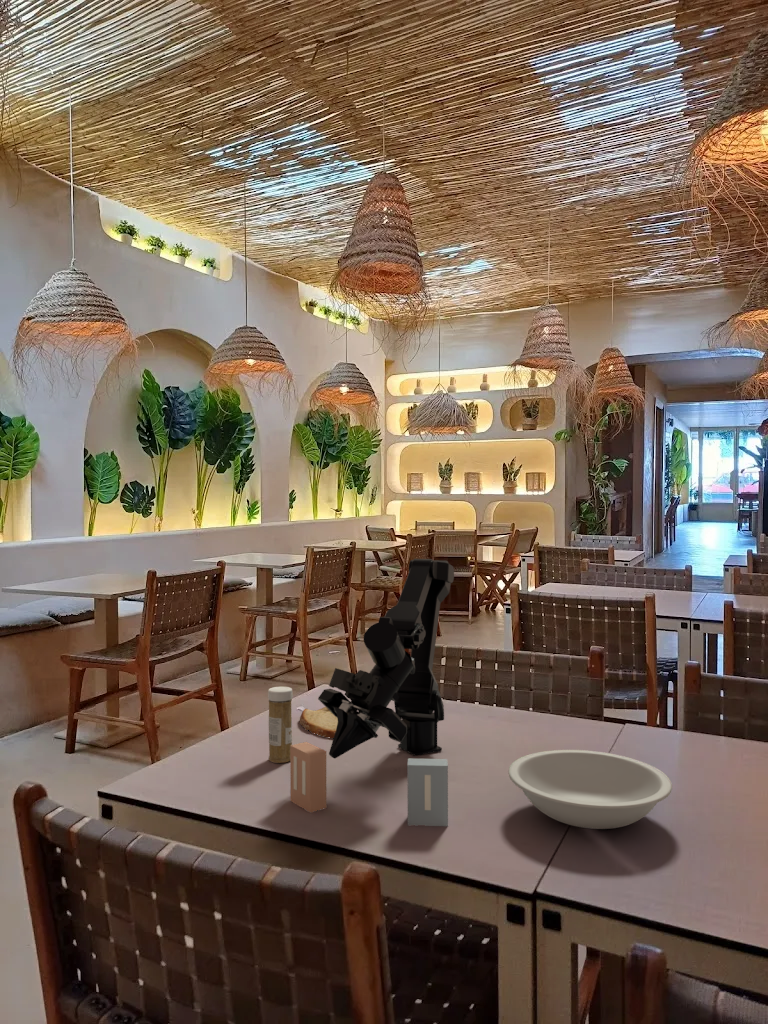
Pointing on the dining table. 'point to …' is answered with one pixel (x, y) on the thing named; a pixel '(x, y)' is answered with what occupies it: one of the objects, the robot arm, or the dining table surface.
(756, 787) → the dining table surface
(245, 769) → the dining table surface
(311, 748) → the cardboard box
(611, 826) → the soup bowl
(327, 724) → the slice of bread
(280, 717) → the sprinkles bottle
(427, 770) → the grey-blue block
